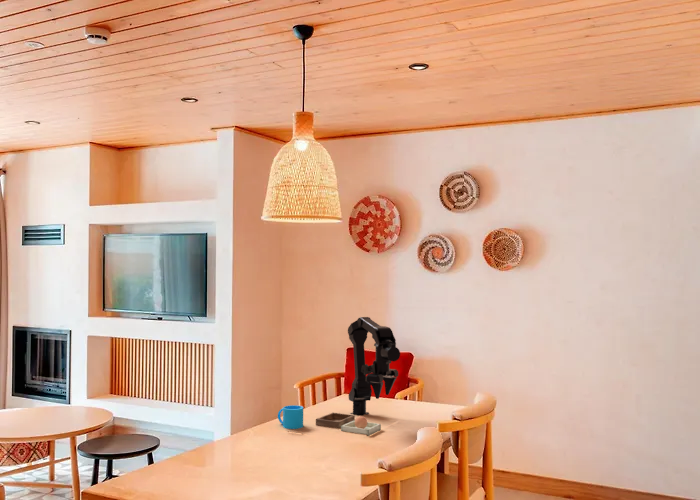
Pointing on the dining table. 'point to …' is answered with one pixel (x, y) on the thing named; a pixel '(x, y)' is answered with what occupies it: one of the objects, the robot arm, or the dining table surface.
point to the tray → (368, 430)
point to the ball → (361, 422)
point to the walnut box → (334, 420)
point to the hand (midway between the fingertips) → (382, 396)
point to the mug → (291, 417)
